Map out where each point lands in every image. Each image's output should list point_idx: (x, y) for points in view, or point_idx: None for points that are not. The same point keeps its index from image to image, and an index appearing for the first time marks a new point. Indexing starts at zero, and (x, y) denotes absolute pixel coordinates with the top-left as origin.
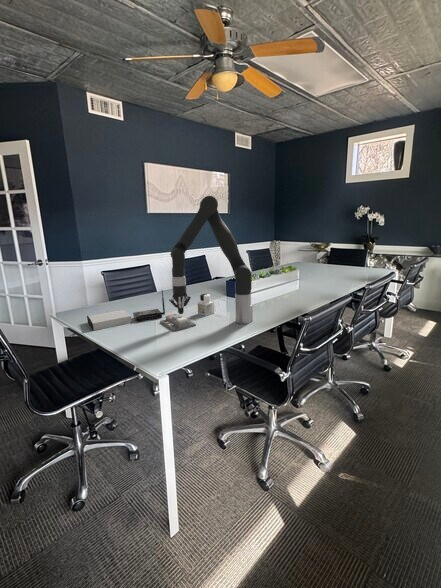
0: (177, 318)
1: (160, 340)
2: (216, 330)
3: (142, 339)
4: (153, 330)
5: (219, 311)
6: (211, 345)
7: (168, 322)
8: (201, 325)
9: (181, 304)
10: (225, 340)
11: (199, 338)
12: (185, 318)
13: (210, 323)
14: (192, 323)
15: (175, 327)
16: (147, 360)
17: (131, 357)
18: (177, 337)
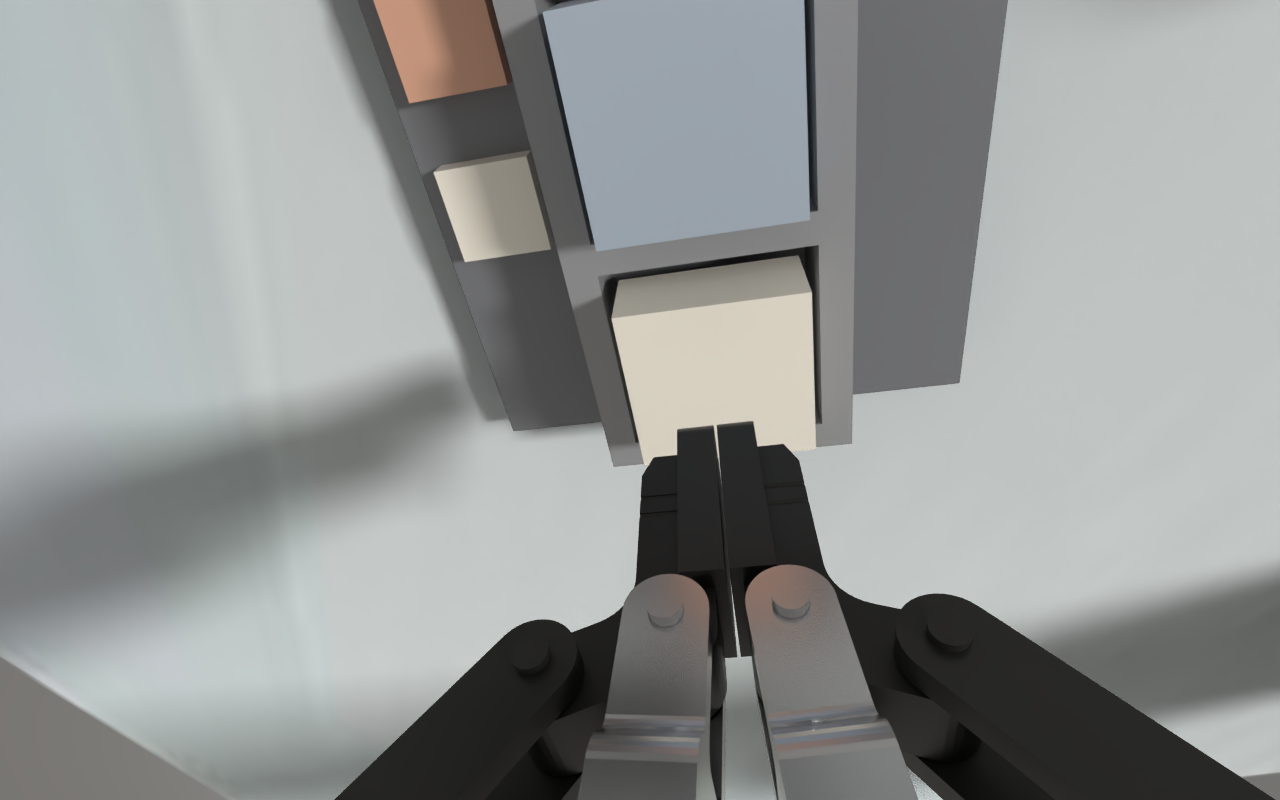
0: (635, 323)
1: (327, 571)
2: (1048, 620)
3: (79, 459)
4: (160, 192)
5: None
6: (762, 796)
7: (452, 54)
8: (1038, 387)
9: (819, 673)
10: (921, 786)
11: (743, 687)
12: (803, 412)
13: (1239, 378)
14: (926, 334)
15: (561, 369)
16: (254, 776)
17: (111, 715)
18: (531, 585)
